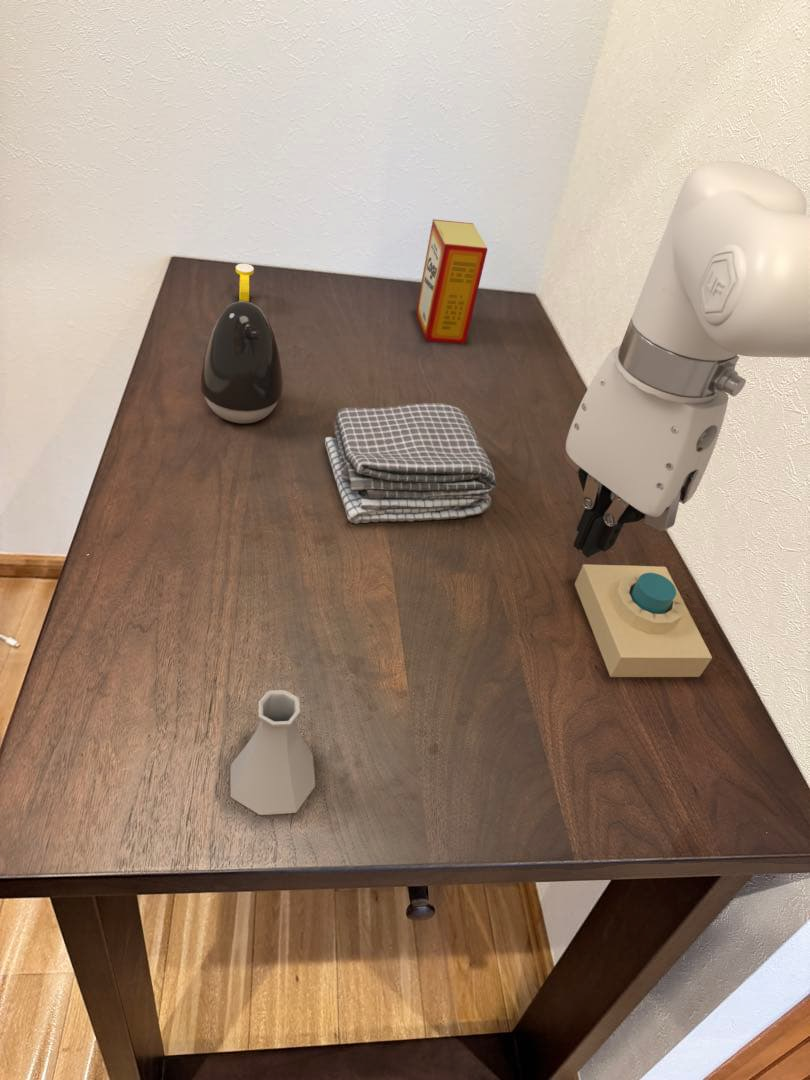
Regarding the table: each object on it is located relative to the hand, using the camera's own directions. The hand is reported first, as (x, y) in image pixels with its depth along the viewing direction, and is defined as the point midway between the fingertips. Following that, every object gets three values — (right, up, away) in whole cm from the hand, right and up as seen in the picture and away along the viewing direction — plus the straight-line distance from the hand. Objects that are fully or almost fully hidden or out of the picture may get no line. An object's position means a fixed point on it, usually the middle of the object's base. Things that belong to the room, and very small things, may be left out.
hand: (591, 546), depth 67 cm
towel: (-16, +8, +30) cm, 35 cm away
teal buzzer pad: (+9, -9, +18) cm, 22 cm away
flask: (-27, -19, -2) cm, 33 cm away
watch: (-42, +38, +57) cm, 80 cm away
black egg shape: (-37, +17, +35) cm, 54 cm away
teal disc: (+10, -6, +15) cm, 18 cm away
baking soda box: (-10, +35, +62) cm, 72 cm away
